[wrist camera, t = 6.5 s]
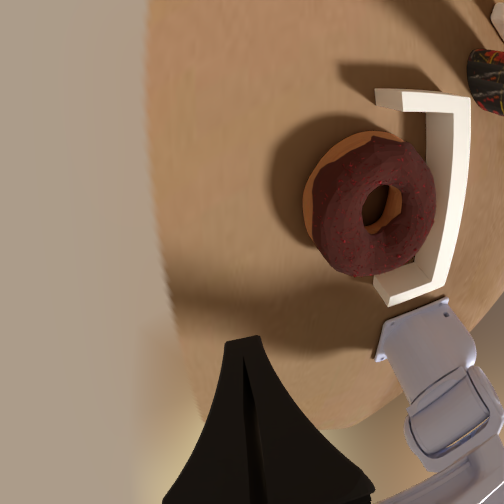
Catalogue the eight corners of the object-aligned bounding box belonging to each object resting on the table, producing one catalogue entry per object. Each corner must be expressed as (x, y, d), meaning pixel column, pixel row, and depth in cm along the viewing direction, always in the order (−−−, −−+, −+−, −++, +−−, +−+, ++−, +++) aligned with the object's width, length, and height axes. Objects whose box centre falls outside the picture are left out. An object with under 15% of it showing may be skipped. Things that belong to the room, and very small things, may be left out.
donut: (312, 113, 15) (340, 121, 12) (428, 145, 17) (463, 162, 13) (285, 254, 20) (300, 289, 17) (391, 257, 22) (415, 285, 19)
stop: (442, 91, 14) (470, 97, 12) (427, 266, 23) (444, 285, 21) (374, 88, 14) (401, 91, 11) (372, 284, 23) (387, 307, 21)
